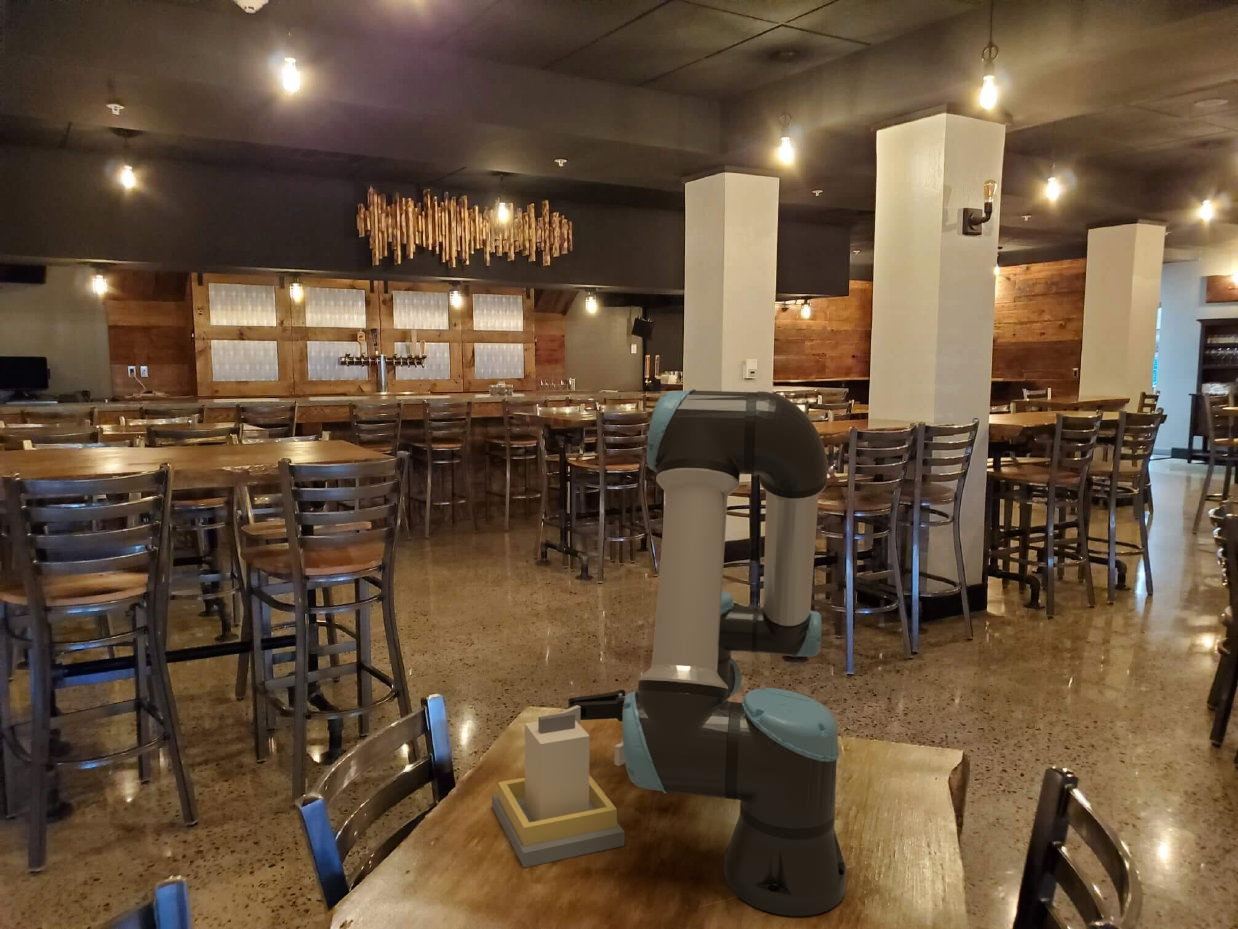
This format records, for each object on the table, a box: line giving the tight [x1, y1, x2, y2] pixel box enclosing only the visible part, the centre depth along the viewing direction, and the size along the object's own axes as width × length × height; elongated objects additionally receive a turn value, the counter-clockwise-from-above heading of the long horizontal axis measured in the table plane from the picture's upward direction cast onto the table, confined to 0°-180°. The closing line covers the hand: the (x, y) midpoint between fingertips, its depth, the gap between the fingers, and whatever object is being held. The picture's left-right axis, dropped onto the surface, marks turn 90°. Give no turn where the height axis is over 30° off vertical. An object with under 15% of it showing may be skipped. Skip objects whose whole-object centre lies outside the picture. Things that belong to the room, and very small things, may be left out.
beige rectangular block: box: [524, 712, 591, 821], centre depth 118 cm, size 7×7×14 cm
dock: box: [491, 774, 625, 869], centre depth 118 cm, size 16×14×4 cm
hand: (580, 741), depth 121 cm, fingers open, 13 cm apart
